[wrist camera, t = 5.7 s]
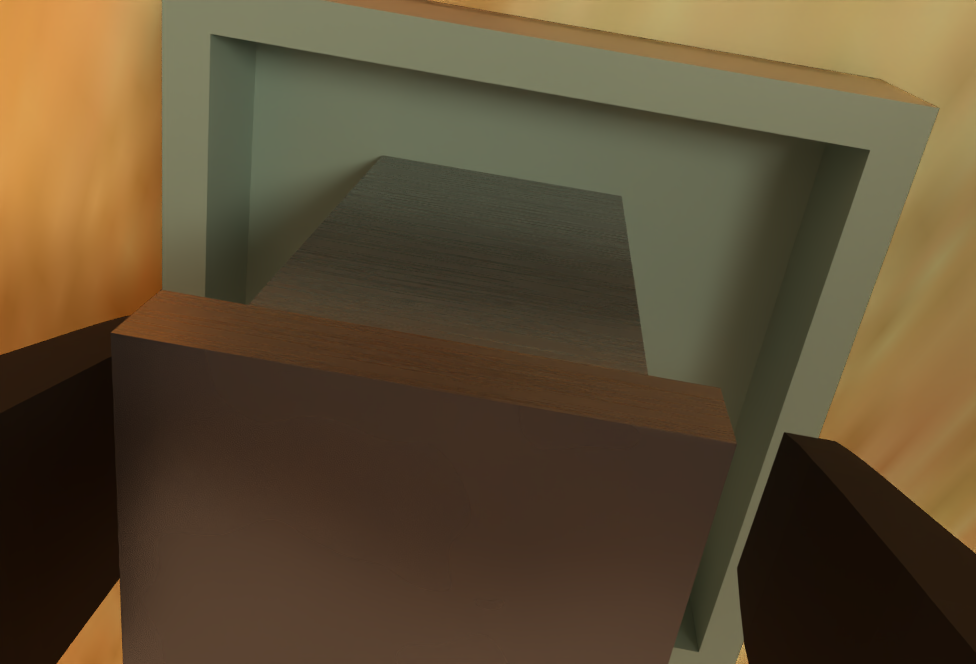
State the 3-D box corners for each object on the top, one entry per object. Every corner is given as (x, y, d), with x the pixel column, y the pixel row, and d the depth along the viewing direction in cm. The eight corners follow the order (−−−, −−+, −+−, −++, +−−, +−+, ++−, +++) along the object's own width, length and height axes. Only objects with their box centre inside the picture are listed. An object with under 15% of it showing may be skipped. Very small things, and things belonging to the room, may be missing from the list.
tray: (881, 79, 12) (939, 108, 10) (709, 593, 16) (726, 687, 14) (229, -35, 12) (162, -28, 10) (214, 499, 16) (162, 579, 14)
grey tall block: (655, 173, 13) (736, 442, 6) (596, 430, 14) (607, 859, 8) (357, 122, 13) (112, 332, 6) (335, 385, 14) (126, 767, 8)
